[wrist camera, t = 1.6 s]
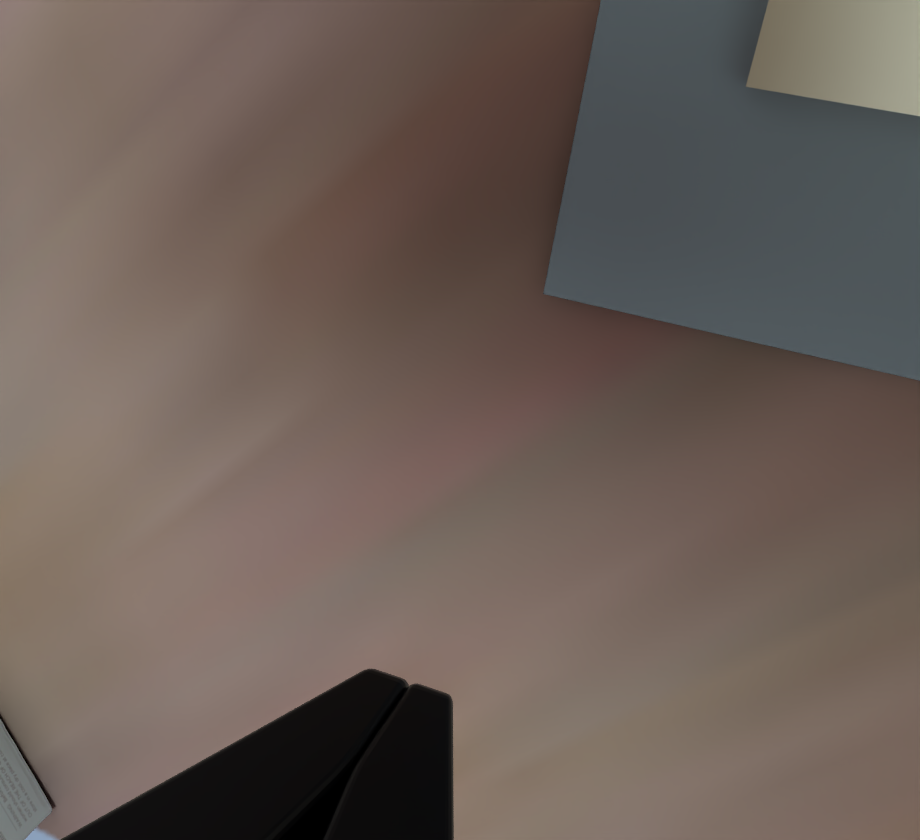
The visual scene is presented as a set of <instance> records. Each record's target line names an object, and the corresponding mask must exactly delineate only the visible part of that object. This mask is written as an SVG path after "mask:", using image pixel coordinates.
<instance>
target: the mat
mask: <svg viewBox="0 0 920 840" xmlns="http://www.w3.org/2000/svg"><path fill="white" fill-rule="evenodd" d="M768 1H769V0H601V3H600V8H599V13H598V18H597V23H596V28H595V33H594V38H593V43H592V49H591V54H590V59H589V64H588V69H587V74H586V79H585V84H584V89H583V94H582V99H581V105H580V110H579V115H578V120H577V125H576V130H575V135H574V140H573V145H572V150H571V155H570V160H569V166H568V171H567V176H566V181H565V186H564V191H563V196H562V201H561V206H560V211H559V216H558V222H557V227H556V232H555V237H554V242H553V247H552V252H551V257H550V262H549V267H548V272H547V277H546V283H545V288H544V293H543V294H546V295H550V296H555V297H559V298H563V299H568V300H572V301H576V302H581V303H585V304H589V305H594V306H598V307H602V308H607V309H611V310H616V311H620V312H624V313H629V314H633V315H637V316H642V317H646V318H650V319H655V320H659V321H663V322H668V323H672V324H676V325H681V326H685V327H689V328H694V329H698V330H702V331H707V332H711V333H715V334H720V335H724V336H728V337H733V338H737V339H741V340H746V341H750V342H754V343H759V344H763V345H767V346H772V347H776V348H780V349H785V350H789V351H793V352H798V353H802V354H806V355H811V356H815V357H819V358H824V359H828V360H832V361H837V362H841V363H845V364H850V365H854V366H858V367H863V368H867V369H871V370H876V371H880V372H885V373H889V374H893V375H898V376H902V377H906V378H911V379H915V380H919V381H920V116H915V115H910V114H904V113H898V112H892V111H886V110H880V109H874V108H868V107H862V106H857V105H851V104H845V103H839V102H833V101H827V100H821V99H815V98H809V97H804V96H798V95H792V94H786V93H780V92H774V91H768V90H762V89H757V88H751V87H746V84H747V80H748V76H749V73H750V69H751V65H752V61H753V58H754V54H755V50H756V46H757V43H758V39H759V35H760V31H761V28H762V24H763V20H764V16H765V13H766V9H767V5H768Z"/></svg>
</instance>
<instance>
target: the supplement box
mask: <svg viewBox="0 0 920 840" xmlns="http://www.w3.org/2000/svg"><path fill="white" fill-rule="evenodd" d="M51 812H52V807H51V805H50V803H49V802H48V800H47V798H46V796H45V794H44V792H43V791H42V789H41V787H40V786H39V784H38V782H37V780H36V779H35V777H34V775H33V773H32V772H31V770H30V769H29V767H28V765H27V764H26V762H25V760H24V759H23V757H22V755H21V753H20V752H19V750H18V748H17V746H16V744H15V743H14V741H13V740H12V738H11V737H10V735H9V733H8V732H7V730H6V728H5V726H4V724H3V722H2V721H1V719H0V840H24V839H25V838H26V837H27V836H28V835H29V834H30V833H31V832H32V831H33V830H34V829H35V828H36V827H37V826H38V825H39V824H40V823H41V822H42V821H43V820H44V819H45V818H46V817H47V816H48V815H49V814H50V813H51Z"/></svg>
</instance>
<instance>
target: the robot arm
mask: <svg viewBox="0 0 920 840" xmlns="http://www.w3.org/2000/svg"><path fill="white" fill-rule="evenodd" d="M61 840H454V825H453V701H452V698H451V696H450V695H449V694H447V693H444V692H441V691H438V690H435V689H432V688H429V687H426V686H423V685H420V684H412V685H410V686H409V685H408V683H407V682H406V680H404V679H403V678H400V677H397V676H394V675H391V674H388V673H385V672H382V671H379V670H376V669H367V670H364V671H362V672H360V673H358V674H356V675H354V676H353V677H351V678H349V679H347V680H345V681H344V682H342V683H340V684H338V685H337V686H335V687H333V688H331V689H329V690H328V691H326V692H324V693H322V694H320V695H319V696H317V697H315V698H313V699H311V700H310V701H308V702H306V703H304V704H302V705H301V706H299V707H297V708H295V709H294V710H292V711H290V712H288V713H286V714H285V715H283V716H281V717H279V718H277V719H276V720H274V721H272V722H270V723H268V724H267V725H265V726H263V727H261V728H260V729H258V730H256V731H254V732H252V733H251V734H249V735H247V736H245V737H243V738H242V739H240V740H238V741H236V742H234V743H233V744H231V745H229V746H227V747H225V748H224V749H222V750H220V751H218V752H217V753H215V754H213V755H211V756H209V757H208V758H206V759H204V760H202V761H200V762H199V763H197V764H195V765H193V766H191V767H190V768H188V769H186V770H184V771H183V772H181V773H179V774H177V775H175V776H174V777H172V778H170V779H168V780H166V781H165V782H163V783H161V784H159V785H157V786H156V787H154V788H152V789H150V790H148V791H147V792H145V793H143V794H141V795H140V796H138V797H136V798H134V799H132V800H131V801H129V802H127V803H125V804H123V805H122V806H120V807H118V808H116V809H114V810H113V811H111V812H109V813H107V814H106V815H104V816H102V817H100V818H98V819H97V820H95V821H93V822H91V823H89V824H88V825H86V826H84V827H82V828H80V829H79V830H77V831H75V832H73V833H71V834H70V835H68V836H66V837H64V838H63V839H61Z"/></svg>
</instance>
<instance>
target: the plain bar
mask: <svg viewBox="0 0 920 840" xmlns="http://www.w3.org/2000/svg"><path fill="white" fill-rule="evenodd" d="M746 87H751V88H757V89H762V90H768V91H774V92H780V93H786V94H792V95H798V96H804V97H809V98H815V99H821V100H827V101H833V102H839V103H845V104H851V105H857V106H862V107H868V108H874V109H880V110H886V111H892V112H898V113H904V114H910V115H915V116H920V0H769V1H768V5H767V9H766V13H765V16H764V20H763V24H762V28H761V31H760V35H759V39H758V43H757V46H756V50H755V54H754V58H753V61H752V65H751V69H750V73H749V76H748V80H747V84H746Z"/></svg>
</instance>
